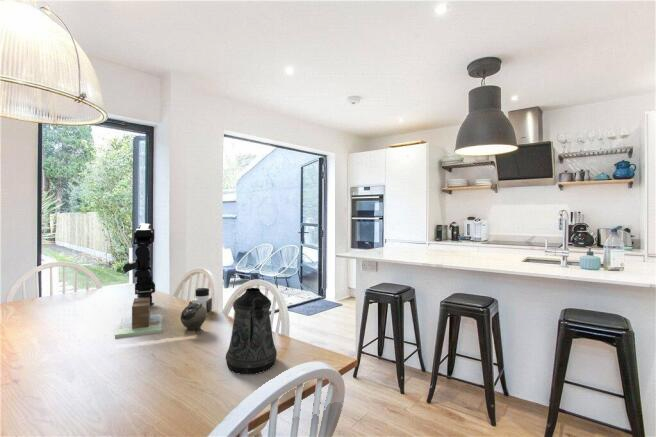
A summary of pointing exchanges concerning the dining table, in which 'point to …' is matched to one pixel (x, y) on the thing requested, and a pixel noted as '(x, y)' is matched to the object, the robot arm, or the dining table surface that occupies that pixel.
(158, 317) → the trap board
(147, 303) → the walnut box
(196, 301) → the medicine bottle
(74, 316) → the dining table surface
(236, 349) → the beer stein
